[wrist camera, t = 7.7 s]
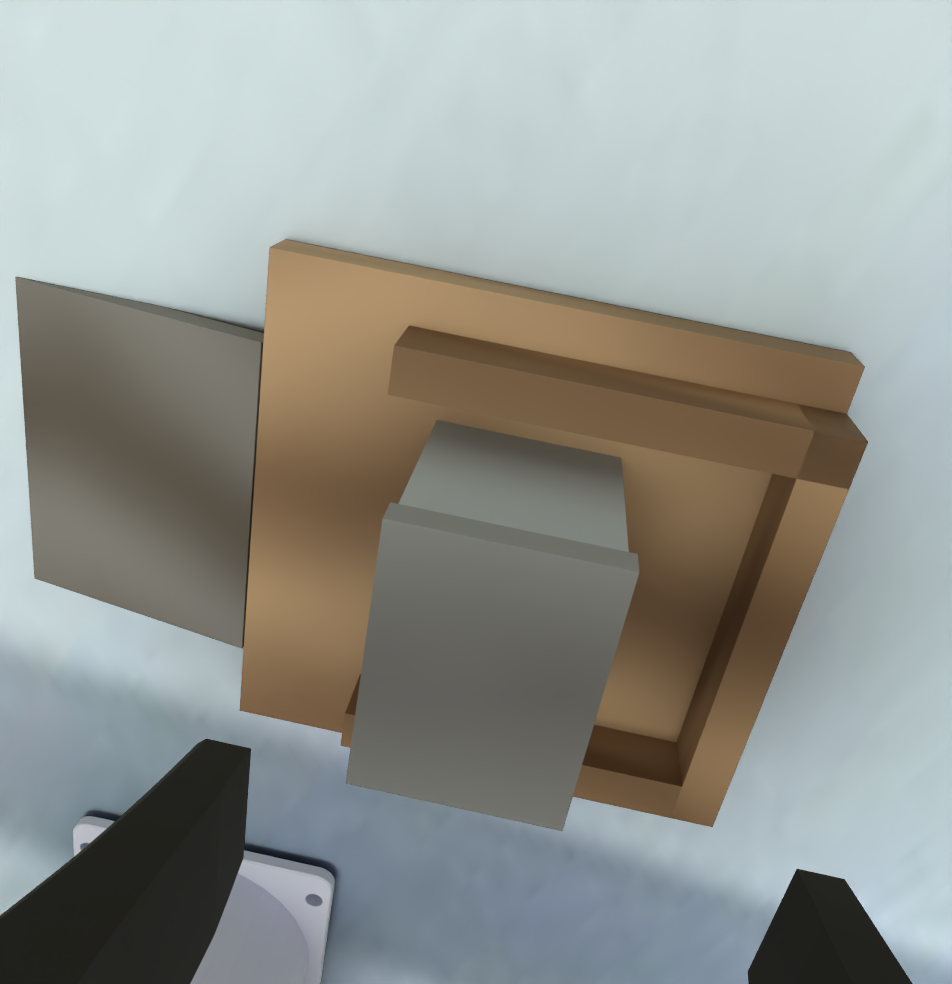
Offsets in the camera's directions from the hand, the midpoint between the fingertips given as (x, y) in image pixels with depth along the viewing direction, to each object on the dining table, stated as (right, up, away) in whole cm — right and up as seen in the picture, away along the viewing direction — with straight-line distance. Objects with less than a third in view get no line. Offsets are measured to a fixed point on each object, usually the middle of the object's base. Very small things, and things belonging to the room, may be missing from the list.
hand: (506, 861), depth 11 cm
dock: (-2, +4, +10) cm, 11 cm away
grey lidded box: (0, +4, +8) cm, 9 cm away
